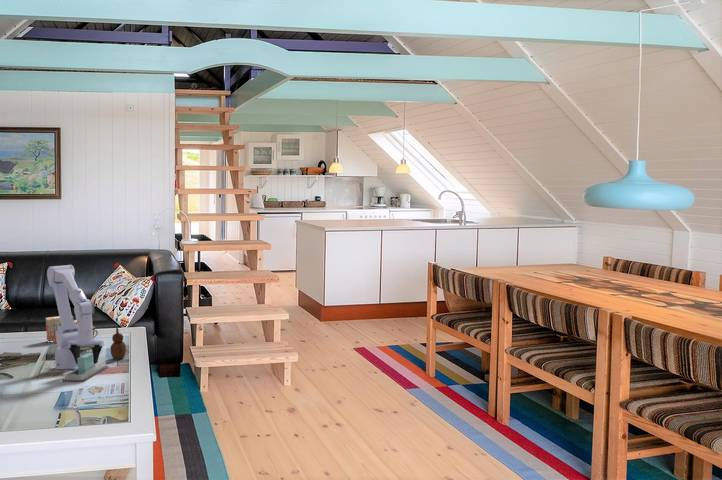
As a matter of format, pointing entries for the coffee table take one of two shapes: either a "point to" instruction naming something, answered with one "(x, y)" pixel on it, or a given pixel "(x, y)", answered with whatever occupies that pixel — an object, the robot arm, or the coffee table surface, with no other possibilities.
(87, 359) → the door panel
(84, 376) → the track
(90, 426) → the coffee table surface
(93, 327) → the ceramic cup
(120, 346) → the wooden figurine
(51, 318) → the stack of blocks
